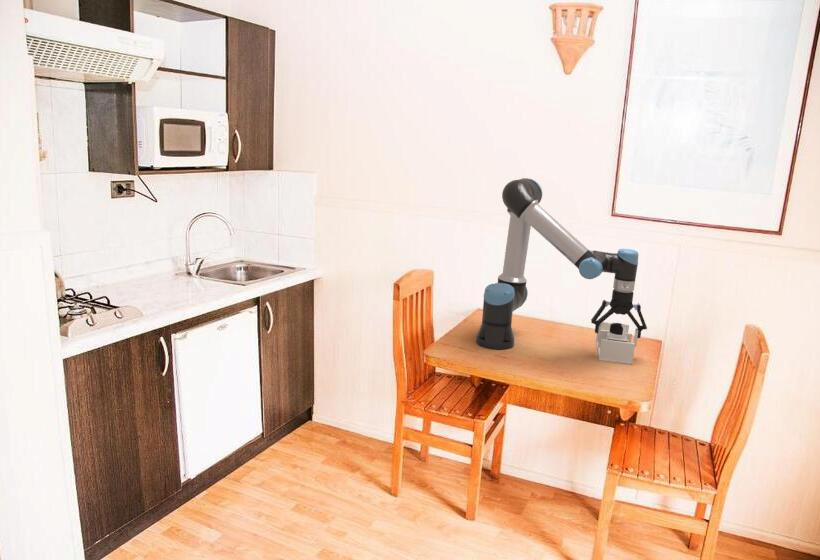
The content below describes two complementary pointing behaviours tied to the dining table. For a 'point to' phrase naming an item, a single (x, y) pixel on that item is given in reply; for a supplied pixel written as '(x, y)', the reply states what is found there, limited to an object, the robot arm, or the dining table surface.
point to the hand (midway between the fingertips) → (616, 343)
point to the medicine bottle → (617, 332)
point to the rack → (615, 346)
